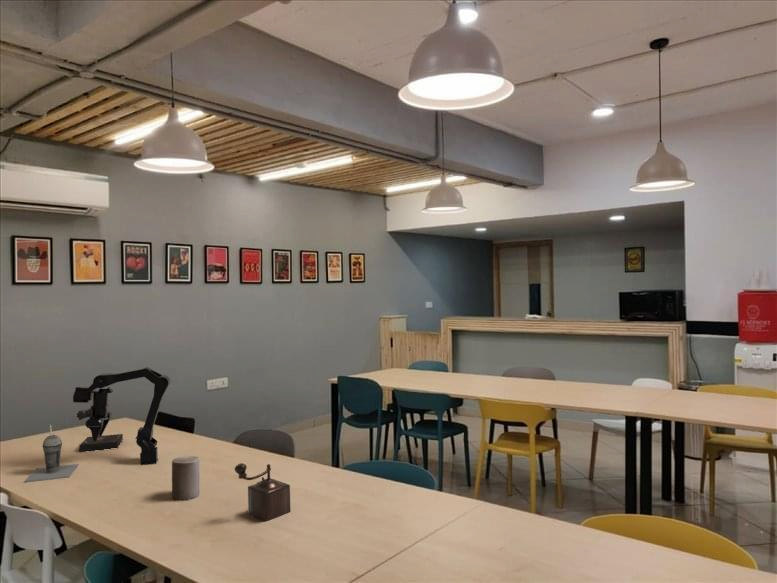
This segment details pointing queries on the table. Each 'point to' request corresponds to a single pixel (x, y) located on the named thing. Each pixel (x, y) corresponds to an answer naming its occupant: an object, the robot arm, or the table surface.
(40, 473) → the rubber mat
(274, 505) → the manual coffee grinder
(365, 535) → the table surface
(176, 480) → the pillar candle
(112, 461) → the table surface
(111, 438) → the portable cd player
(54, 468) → the beverage cup
